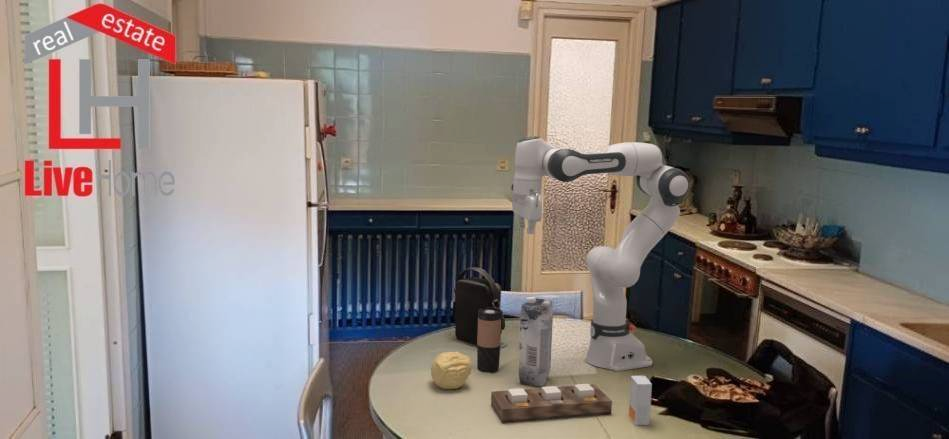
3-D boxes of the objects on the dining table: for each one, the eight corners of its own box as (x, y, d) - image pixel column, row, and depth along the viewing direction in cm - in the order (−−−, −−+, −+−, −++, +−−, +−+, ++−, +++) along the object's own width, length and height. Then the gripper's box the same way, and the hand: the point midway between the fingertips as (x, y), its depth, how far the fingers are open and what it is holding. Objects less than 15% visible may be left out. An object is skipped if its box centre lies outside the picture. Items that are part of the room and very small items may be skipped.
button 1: (522, 398, 194) (522, 388, 194) (527, 404, 190) (527, 394, 190) (507, 399, 193) (508, 389, 193) (512, 405, 189) (512, 395, 189)
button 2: (587, 393, 199) (588, 383, 199) (593, 399, 195) (594, 389, 194) (573, 394, 198) (574, 384, 198) (579, 400, 194) (579, 390, 193)
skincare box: (627, 415, 192) (630, 375, 190) (642, 415, 192) (645, 375, 190) (634, 425, 186) (637, 384, 184) (649, 425, 186) (652, 383, 184)
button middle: (555, 395, 197) (556, 386, 196) (560, 402, 192) (561, 392, 192) (541, 396, 196) (541, 387, 195) (546, 403, 191) (546, 393, 191)
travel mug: (497, 374, 219) (499, 314, 216) (474, 372, 221) (475, 312, 218) (501, 365, 227) (503, 308, 224) (478, 363, 228) (480, 306, 225)
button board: (594, 396, 204) (595, 383, 203) (611, 414, 192) (612, 399, 192) (491, 404, 197) (491, 390, 196) (502, 423, 185) (502, 408, 184)
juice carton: (551, 376, 219) (555, 295, 214) (544, 389, 209) (547, 303, 205) (524, 372, 222) (527, 292, 217) (516, 384, 212) (519, 300, 207)
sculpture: (441, 395, 202) (441, 361, 200) (425, 381, 213) (425, 348, 211) (475, 389, 207) (476, 355, 206) (457, 375, 218) (458, 343, 216)
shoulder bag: (443, 337, 254) (445, 264, 249) (459, 331, 261) (461, 260, 256) (492, 352, 240) (494, 274, 235) (507, 345, 247) (509, 270, 242)
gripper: (547, 192, 206) (545, 237, 208) (527, 184, 225) (526, 225, 228) (527, 192, 204) (526, 237, 207) (509, 184, 224) (507, 226, 226)
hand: (525, 231), depth 217 cm, fingers open, 8 cm apart
